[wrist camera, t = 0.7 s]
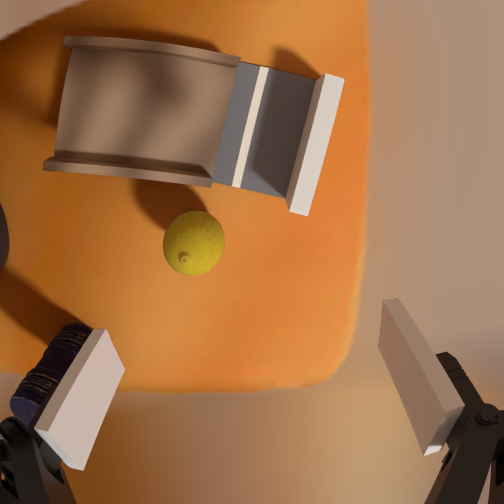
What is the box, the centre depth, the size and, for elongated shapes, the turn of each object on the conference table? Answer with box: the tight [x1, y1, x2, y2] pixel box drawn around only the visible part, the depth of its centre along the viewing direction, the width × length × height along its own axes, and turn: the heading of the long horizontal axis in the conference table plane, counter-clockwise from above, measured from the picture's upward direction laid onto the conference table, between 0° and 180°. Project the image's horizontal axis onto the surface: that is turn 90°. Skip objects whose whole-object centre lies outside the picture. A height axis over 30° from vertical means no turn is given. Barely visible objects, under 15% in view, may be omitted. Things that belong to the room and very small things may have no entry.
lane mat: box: [209, 62, 316, 198], centre depth 29 cm, size 10×12×1 cm
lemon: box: [163, 211, 225, 276], centre depth 29 cm, size 6×6×8 cm
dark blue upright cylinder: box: [9, 323, 94, 428], centre depth 33 cm, size 10×10×15 cm
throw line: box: [232, 66, 269, 188], centre depth 28 cm, size 1×12×1 cm, turn 167°
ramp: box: [43, 36, 241, 188], centre depth 24 cm, size 15×12×8 cm
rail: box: [285, 73, 345, 216], centre depth 27 cm, size 2×12×5 cm, turn 167°
